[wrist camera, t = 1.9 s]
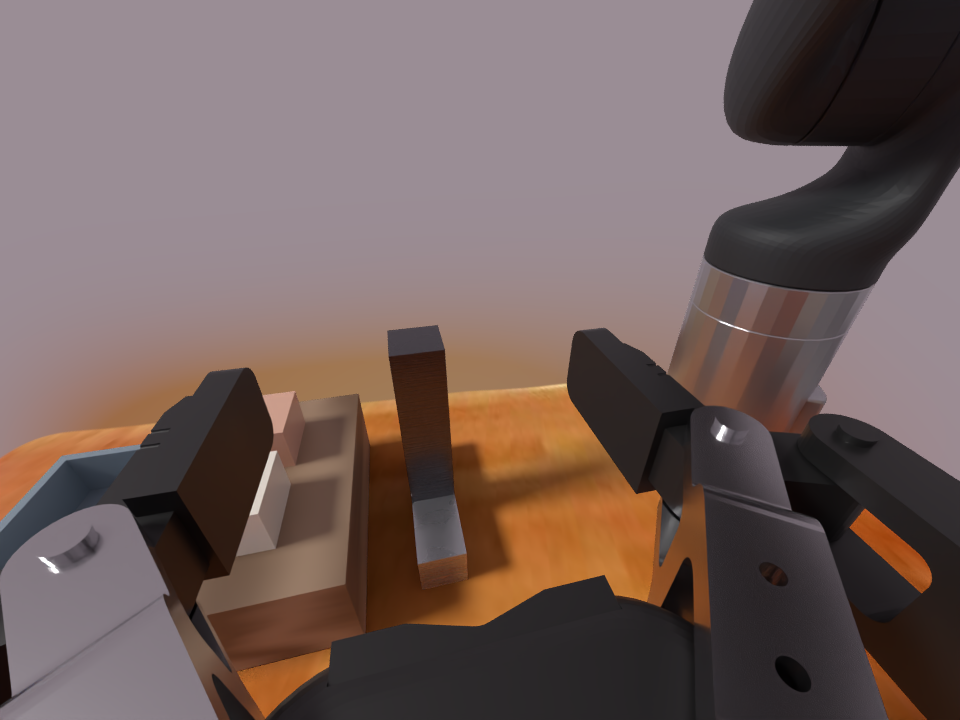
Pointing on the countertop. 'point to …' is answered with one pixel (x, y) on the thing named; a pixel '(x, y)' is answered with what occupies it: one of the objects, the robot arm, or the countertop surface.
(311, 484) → the marbled brown box
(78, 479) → the box
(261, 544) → the white block
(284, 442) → the pink block
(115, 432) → the countertop surface
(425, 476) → the dark grey tall part
